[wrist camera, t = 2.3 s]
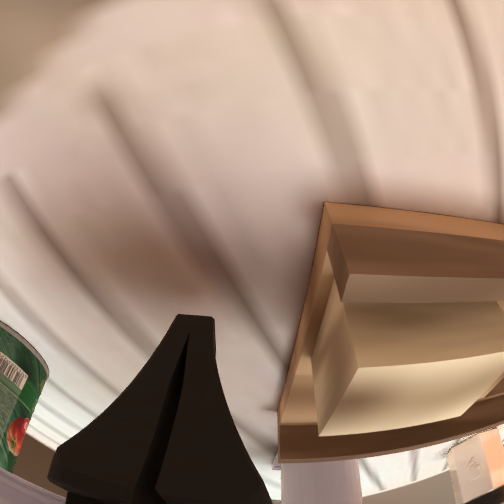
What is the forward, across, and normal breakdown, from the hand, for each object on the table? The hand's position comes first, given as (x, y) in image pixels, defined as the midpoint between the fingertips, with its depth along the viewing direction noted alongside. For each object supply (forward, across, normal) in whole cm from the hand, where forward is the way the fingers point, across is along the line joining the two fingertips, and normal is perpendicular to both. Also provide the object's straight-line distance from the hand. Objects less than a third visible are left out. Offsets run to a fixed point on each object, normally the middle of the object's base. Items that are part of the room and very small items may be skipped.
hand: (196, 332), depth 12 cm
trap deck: (+2, -17, +4) cm, 18 cm away
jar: (+3, -35, +30) cm, 46 cm away
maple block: (+1, -8, 0) cm, 8 cm away
